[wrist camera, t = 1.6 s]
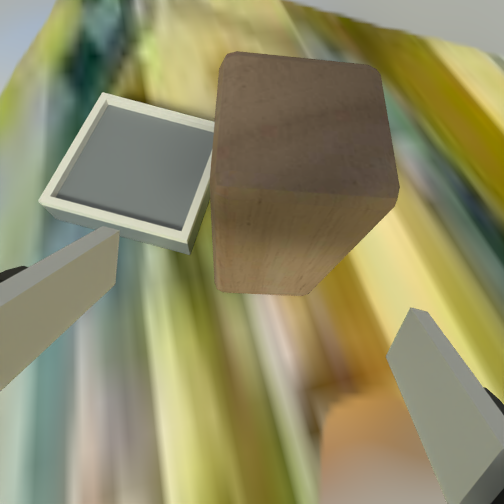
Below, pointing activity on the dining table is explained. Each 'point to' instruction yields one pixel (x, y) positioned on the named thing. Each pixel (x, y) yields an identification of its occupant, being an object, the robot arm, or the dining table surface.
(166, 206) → the baseplate
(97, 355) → the dining table surface
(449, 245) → the dining table surface
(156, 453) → the dining table surface
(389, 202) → the block
